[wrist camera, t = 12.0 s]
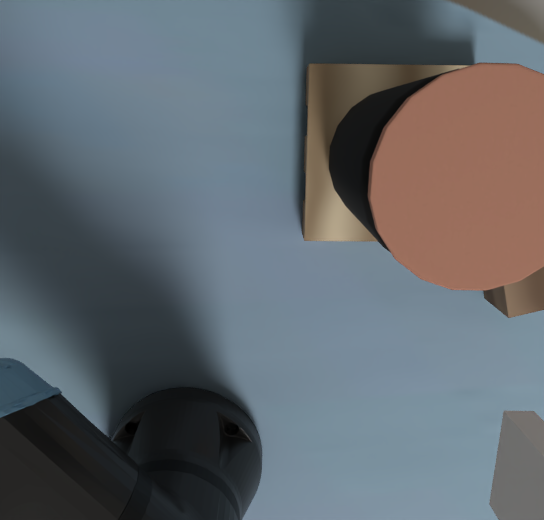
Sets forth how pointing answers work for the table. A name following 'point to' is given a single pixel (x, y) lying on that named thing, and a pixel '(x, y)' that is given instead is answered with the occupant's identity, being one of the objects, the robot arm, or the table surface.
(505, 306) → the cargo block
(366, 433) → the table surface
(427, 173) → the coffee jar
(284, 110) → the table surface
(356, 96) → the pallet dock
